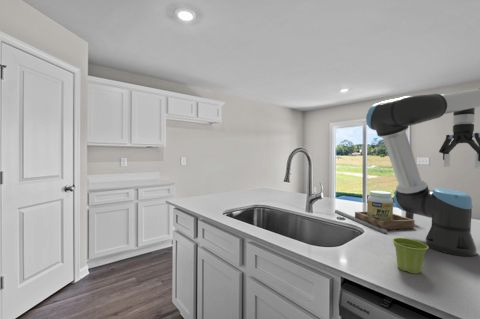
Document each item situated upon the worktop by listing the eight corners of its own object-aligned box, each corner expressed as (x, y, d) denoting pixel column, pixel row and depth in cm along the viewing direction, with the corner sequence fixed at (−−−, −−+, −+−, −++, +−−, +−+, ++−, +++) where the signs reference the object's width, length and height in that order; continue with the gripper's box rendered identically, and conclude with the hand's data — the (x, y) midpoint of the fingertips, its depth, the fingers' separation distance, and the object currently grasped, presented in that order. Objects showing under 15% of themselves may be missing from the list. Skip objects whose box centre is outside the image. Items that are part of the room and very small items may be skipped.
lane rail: (387, 233, 110) (387, 230, 110) (384, 233, 110) (384, 230, 110) (336, 212, 149) (336, 209, 149) (334, 212, 149) (334, 210, 149)
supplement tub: (369, 224, 124) (370, 192, 124) (364, 218, 136) (365, 189, 135) (395, 226, 121) (396, 194, 120) (388, 220, 132) (389, 190, 132)
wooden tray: (429, 227, 120) (430, 204, 119) (381, 229, 114) (382, 205, 114) (397, 217, 139) (397, 197, 139) (354, 218, 134) (355, 198, 133)
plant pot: (411, 262, 81) (412, 237, 80) (435, 276, 71) (436, 248, 71) (385, 262, 80) (386, 237, 80) (405, 276, 71) (406, 248, 71)
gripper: (502, 120, 102) (500, 169, 102) (442, 127, 126) (441, 165, 127) (488, 120, 101) (486, 169, 101) (431, 126, 125) (430, 165, 126)
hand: (461, 167), depth 114 cm, fingers open, 13 cm apart
